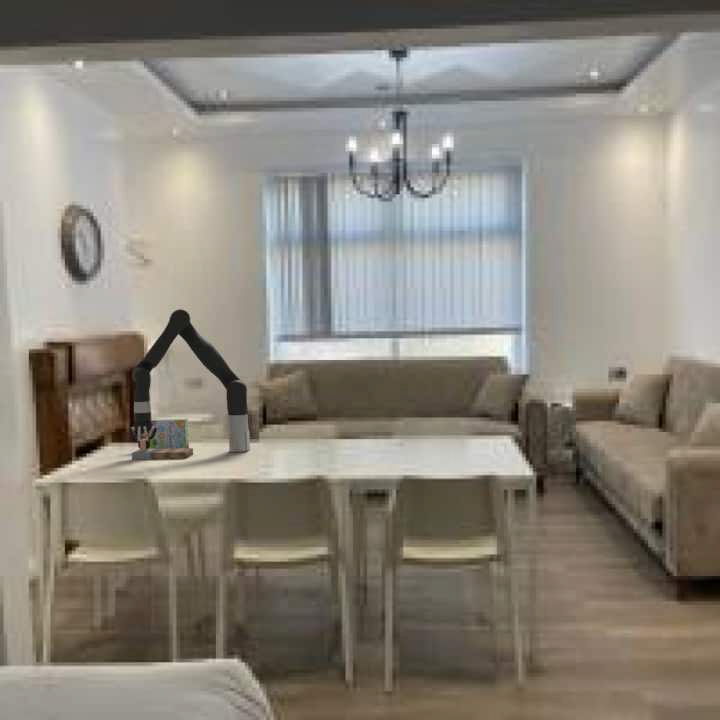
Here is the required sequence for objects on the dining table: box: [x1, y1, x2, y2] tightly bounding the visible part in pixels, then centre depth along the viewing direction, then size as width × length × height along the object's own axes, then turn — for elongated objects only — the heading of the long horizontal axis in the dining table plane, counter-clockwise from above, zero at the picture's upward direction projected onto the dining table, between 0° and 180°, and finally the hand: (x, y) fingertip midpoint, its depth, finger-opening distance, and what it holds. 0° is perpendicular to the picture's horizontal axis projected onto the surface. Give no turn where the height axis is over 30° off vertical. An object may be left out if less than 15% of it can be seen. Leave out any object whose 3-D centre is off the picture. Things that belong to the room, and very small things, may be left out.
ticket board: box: [151, 447, 194, 460], centre depth 420 cm, size 16×12×3 cm
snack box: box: [142, 418, 190, 450], centre depth 442 cm, size 21×6×15 cm, turn 84°
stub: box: [131, 438, 157, 460], centre depth 421 cm, size 8×12×8 cm, turn 176°
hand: (144, 448), depth 421 cm, fingers closed on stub, 2 cm apart
